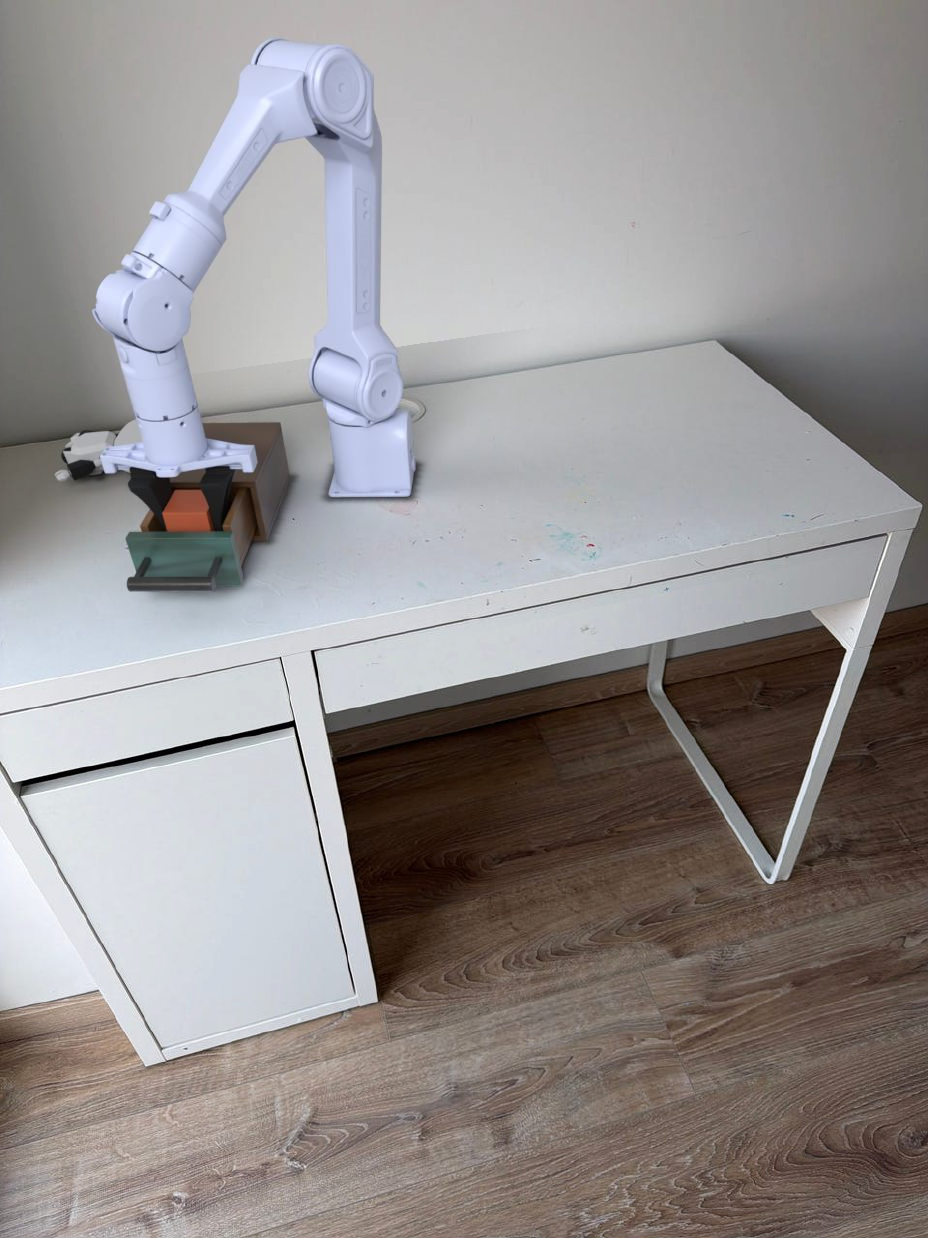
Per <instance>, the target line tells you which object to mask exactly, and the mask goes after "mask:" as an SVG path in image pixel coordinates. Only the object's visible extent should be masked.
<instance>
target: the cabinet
mask: <svg viewBox="0 0 928 1238" xmlns="http://www.w3.org/2000/svg"><path fill="white" fill-rule="evenodd" d="M202 424H203V428H204V433H205V437H206V438H207V439H213V440H218V441H223V442H229V443H234V444H241V445H254V446H255V451H256V456H257V461H258V463H257V465H256V468H255V470H254V472H243V470H242V469H235V472H234V476H233V480H232V483H231V487H250V490H251V495H252V500H253V504H254V509H255V514H256V519H257V524H258V525H257V528H256V530H255V533H254V535H253V538H252V540H251V542H268V540H269V538H270V535H271V532H272V529H273V527H274V524H275V521H276V518H277V515H278V514H279V511H280V507H281V505H282V502H283V500H284V496H285V494H286V491H287V488H288V486H289V483H290V481H291V474H290V469H289V463H288V457H287V452H286V451H287V450H286V447H285V446H286V445H285V441H284V434H283V429H282V422H279V421H271V422H268V421H267V422H266V421H265V422H263V421H262V422H261V421H259V422H253V421H252V422H202ZM205 473H206V470H205V469H197V470H191V471H185V472H180V474H179V475H178V476H176V477H170V484H171V488H200V487H199V483H200V481H201V479H202V477H203V475H204V474H205Z"/></svg>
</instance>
